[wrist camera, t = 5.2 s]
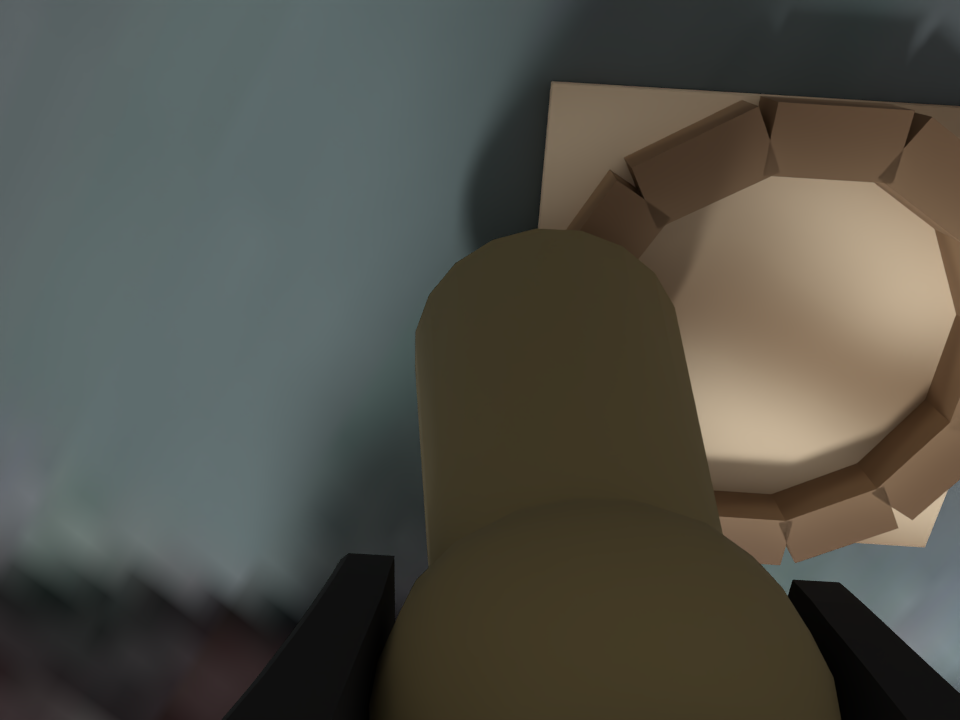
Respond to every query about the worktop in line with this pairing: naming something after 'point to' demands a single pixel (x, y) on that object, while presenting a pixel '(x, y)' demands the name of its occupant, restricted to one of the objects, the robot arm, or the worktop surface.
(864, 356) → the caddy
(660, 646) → the khaki cylinder
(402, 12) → the worktop surface
